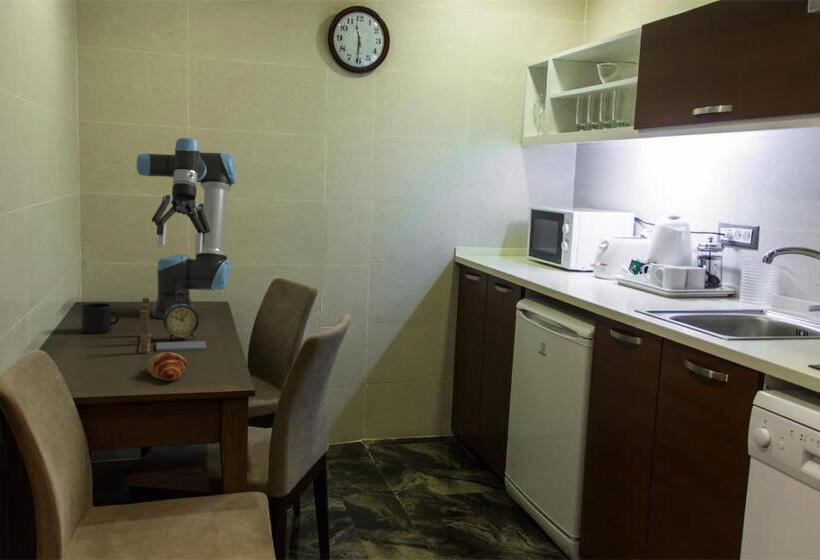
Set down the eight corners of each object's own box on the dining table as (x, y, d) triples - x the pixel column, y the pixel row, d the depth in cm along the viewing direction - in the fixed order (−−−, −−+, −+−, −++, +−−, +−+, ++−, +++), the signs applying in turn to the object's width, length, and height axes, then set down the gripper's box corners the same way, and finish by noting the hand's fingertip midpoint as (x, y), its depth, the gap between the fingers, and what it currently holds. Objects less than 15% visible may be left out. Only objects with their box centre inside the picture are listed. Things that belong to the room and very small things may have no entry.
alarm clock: (165, 342, 246) (165, 293, 243) (162, 338, 250) (162, 290, 248) (199, 340, 251) (199, 291, 248) (195, 336, 255) (195, 289, 253)
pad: (156, 345, 241) (156, 342, 241) (205, 343, 246) (205, 341, 246) (156, 351, 233) (156, 348, 233) (206, 349, 237) (206, 347, 237)
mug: (117, 334, 254) (116, 307, 253) (79, 334, 252) (78, 307, 251) (121, 328, 264) (121, 303, 262) (84, 328, 261) (84, 303, 260)
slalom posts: (141, 335, 253) (141, 297, 252) (151, 335, 254) (150, 297, 252) (138, 353, 229) (138, 311, 227) (149, 353, 230) (148, 311, 228)
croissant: (152, 377, 216) (138, 354, 214) (184, 359, 220) (170, 336, 217) (161, 396, 197) (146, 371, 195) (196, 376, 201) (181, 351, 198)
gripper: (157, 173, 233) (151, 240, 229) (223, 192, 252) (219, 254, 248) (143, 178, 238) (138, 243, 234) (209, 196, 257) (205, 257, 253)
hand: (180, 249), depth 241 cm, fingers open, 13 cm apart
